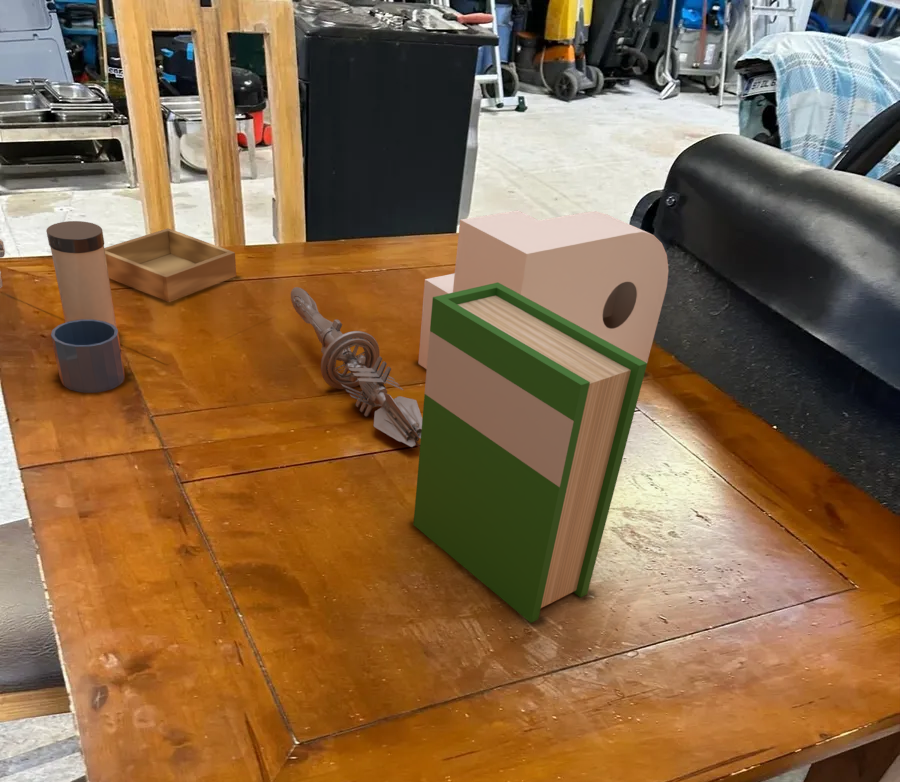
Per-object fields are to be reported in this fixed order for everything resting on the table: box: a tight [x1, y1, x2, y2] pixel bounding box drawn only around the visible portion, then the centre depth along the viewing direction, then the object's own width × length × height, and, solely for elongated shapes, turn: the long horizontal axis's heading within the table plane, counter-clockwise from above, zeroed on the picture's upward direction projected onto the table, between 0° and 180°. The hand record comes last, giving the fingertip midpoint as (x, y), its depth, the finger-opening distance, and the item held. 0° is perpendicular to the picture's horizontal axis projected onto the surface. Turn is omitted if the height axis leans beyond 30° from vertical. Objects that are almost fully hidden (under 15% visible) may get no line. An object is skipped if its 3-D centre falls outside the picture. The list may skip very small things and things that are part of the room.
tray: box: [104, 227, 237, 303], centre depth 130 cm, size 14×14×4 cm
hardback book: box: [412, 282, 648, 624], centre depth 80 cm, size 18×7×24 cm, turn 39°
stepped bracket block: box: [417, 209, 670, 370], centre depth 113 cm, size 26×17×20 cm, turn 128°
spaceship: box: [290, 286, 423, 449], centre depth 108 cm, size 8×35×8 cm
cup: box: [50, 319, 126, 394], centre depth 104 cm, size 7×7×6 cm
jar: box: [45, 220, 118, 329], centre depth 109 cm, size 6×6×14 cm
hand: (2, 262), depth 105 cm, fingers open, 8 cm apart
